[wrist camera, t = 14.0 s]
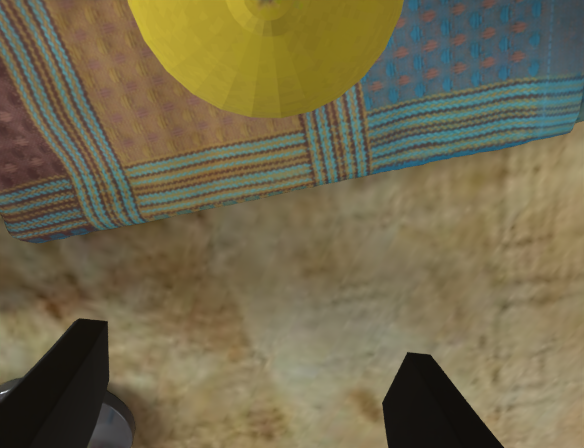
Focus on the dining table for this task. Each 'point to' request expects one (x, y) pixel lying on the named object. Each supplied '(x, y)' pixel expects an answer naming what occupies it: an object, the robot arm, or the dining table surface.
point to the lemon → (267, 49)
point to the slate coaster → (103, 421)
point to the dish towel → (260, 131)
